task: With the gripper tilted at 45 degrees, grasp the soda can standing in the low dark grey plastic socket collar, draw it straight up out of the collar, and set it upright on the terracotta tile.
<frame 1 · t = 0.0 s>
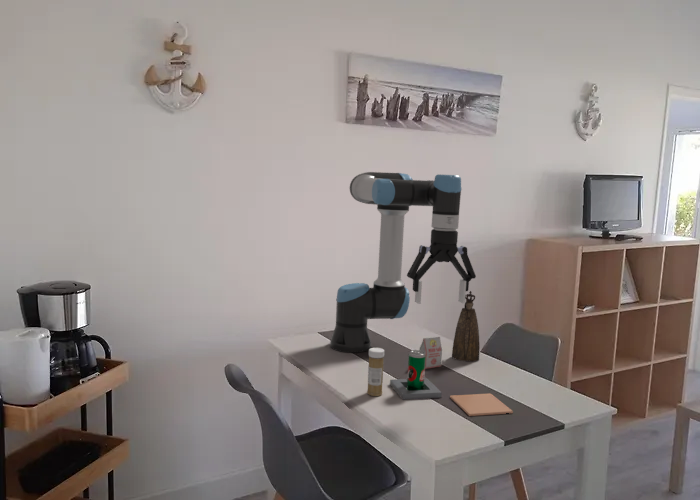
hand: (439, 302, 165), 28 cm above the table, tool pointing down, fingers open, 13 cm apart
statue: (465, 359, 205), on the table
socket block: (415, 390, 172), on the table
terracotta tile: (480, 405, 163), on the table
white red carton: (429, 366, 195), on the table
soda can: (415, 391, 172), resting in socket block
sprinkles bottle: (374, 394, 168), on the table
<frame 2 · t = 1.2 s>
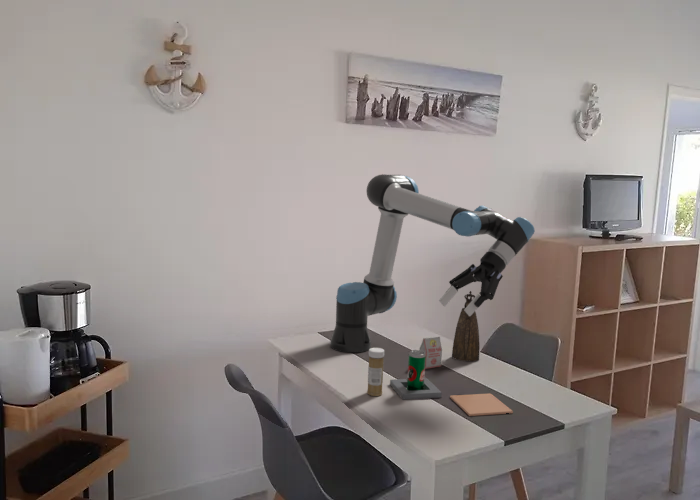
hand: (453, 308, 175), 24 cm above the table, tool tilted 45°, fingers open, 13 cm apart
nothing on the table moved.
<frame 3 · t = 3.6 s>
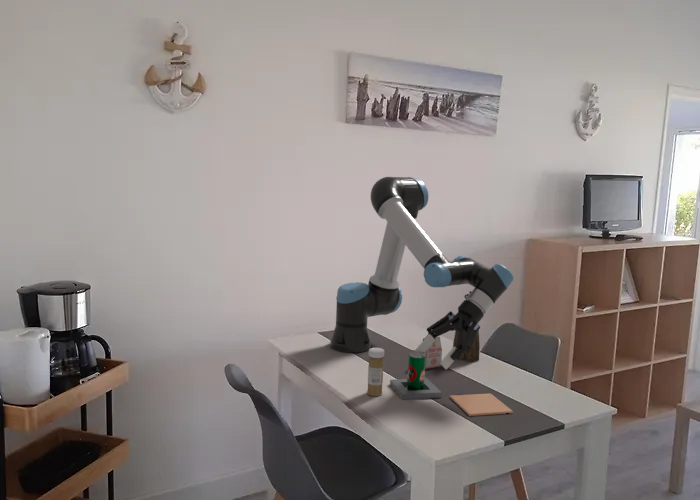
hand: (430, 359, 171), 10 cm above the table, tool tilted 45°, fingers open, 13 cm apart
nothing on the table moved.
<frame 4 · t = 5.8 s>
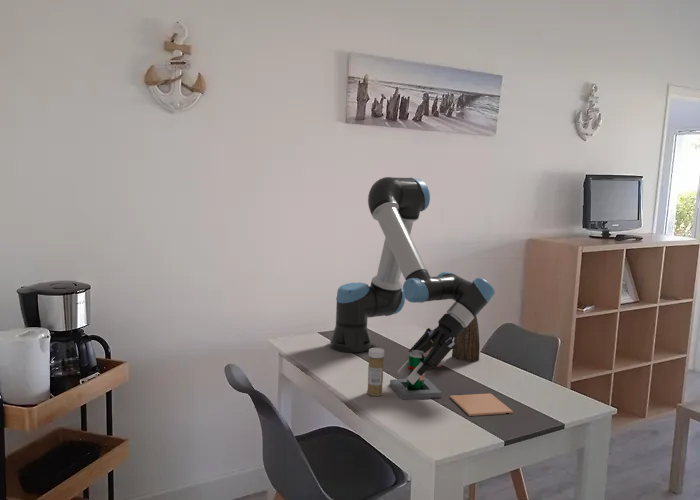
hand: (405, 378, 170), 4 cm above the table, tool tilted 45°, fingers closed on soda can, 5 cm apart
soda can: (414, 391, 172), resting in socket block, touching gripper
everything else where it was.
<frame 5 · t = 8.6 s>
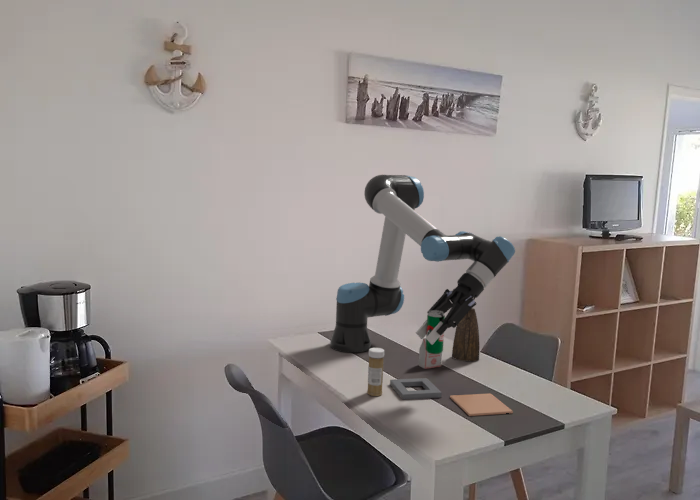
hand: (423, 338, 165), 18 cm above the table, tool tilted 45°, fingers closed on soda can, 5 cm apart
soda can: (434, 352, 167), point 13 cm above the table, touching gripper
everything else where it was.
when the fingers open (6 cm above the table, at t = 11.7 s): soda can drops 1 cm, resting on terracotta tile.
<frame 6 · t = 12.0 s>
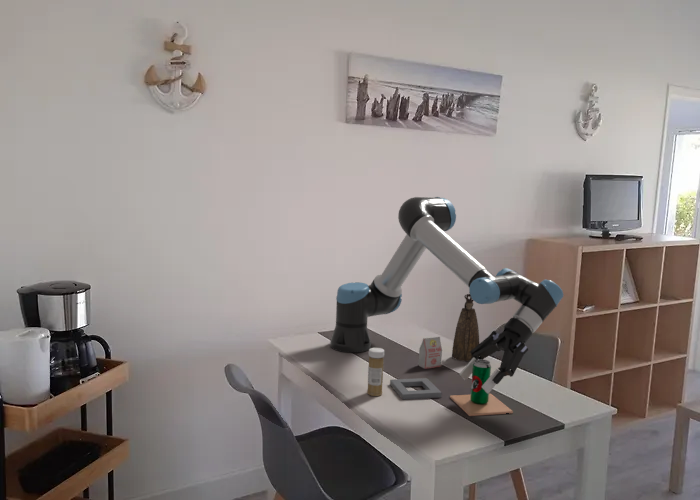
hand: (473, 383, 161), 7 cm above the table, tool tilted 45°, fingers open, 10 cm apart
soda can: (479, 402, 164), resting on terracotta tile
everything else where it was.
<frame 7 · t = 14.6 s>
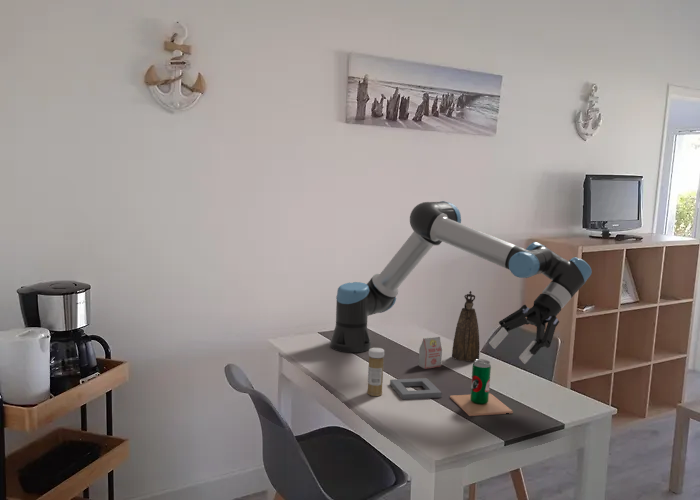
hand: (506, 353, 167), 14 cm above the table, tool tilted 45°, fingers open, 13 cm apart
nothing on the table moved.
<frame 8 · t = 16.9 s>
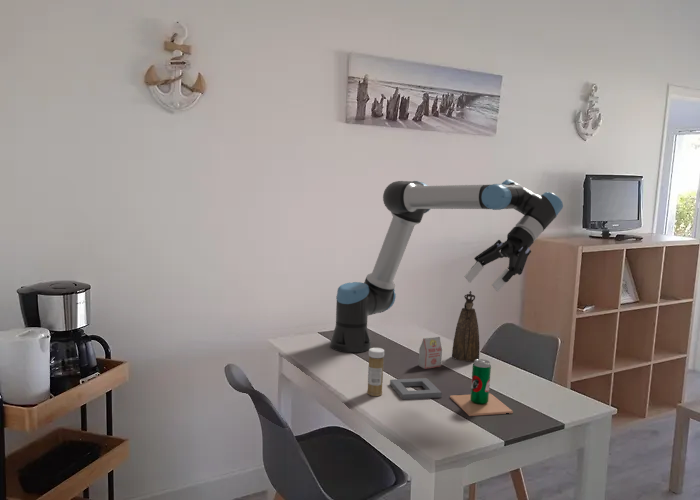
hand: (480, 283, 172), 33 cm above the table, tool tilted 45°, fingers open, 13 cm apart
nothing on the table moved.
at the end: soda can inside the target area on the terracotta tile (0.9 cm from its centre), point 0.4 cm above the terracotta tile's base; soda can tilted 0°; the gripper is holding nothing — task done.
